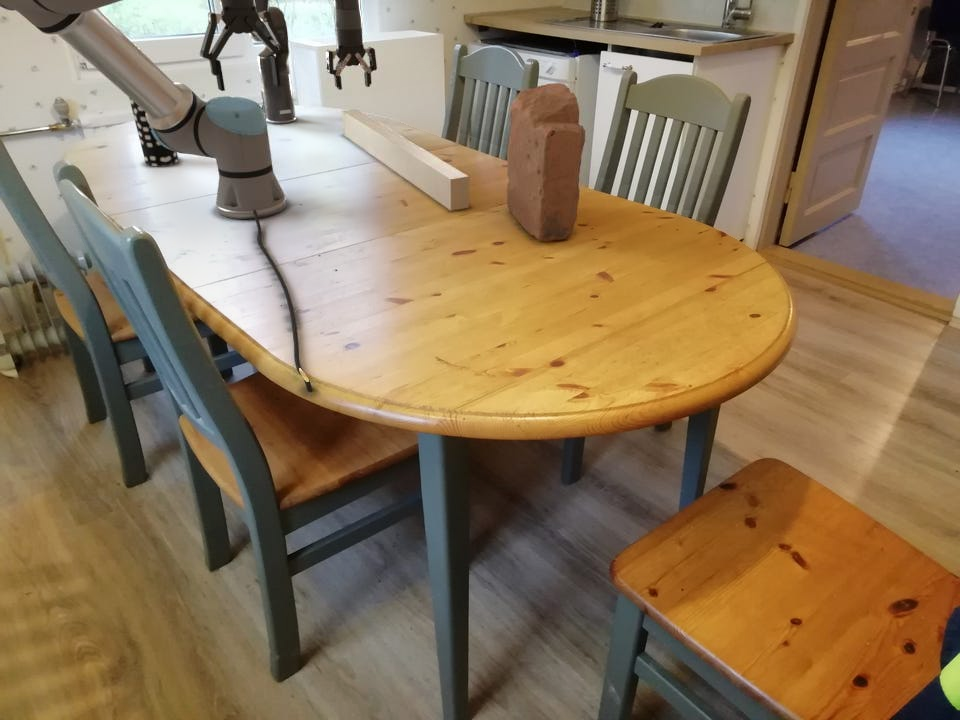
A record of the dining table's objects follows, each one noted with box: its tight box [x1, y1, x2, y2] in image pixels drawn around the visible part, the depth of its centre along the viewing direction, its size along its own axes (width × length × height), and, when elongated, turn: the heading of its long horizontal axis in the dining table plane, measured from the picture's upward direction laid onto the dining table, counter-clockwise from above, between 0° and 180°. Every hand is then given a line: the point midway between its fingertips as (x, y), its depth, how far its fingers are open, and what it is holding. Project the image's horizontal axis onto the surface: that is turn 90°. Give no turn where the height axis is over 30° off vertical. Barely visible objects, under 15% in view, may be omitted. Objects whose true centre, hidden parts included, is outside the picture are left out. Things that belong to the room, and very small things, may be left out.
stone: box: [506, 82, 586, 242], centre depth 144 cm, size 22×11×28 cm, turn 18°
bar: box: [341, 108, 470, 212], centre depth 184 cm, size 73×5×7 cm, turn 29°
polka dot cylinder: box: [128, 97, 179, 167], centre depth 181 cm, size 8×8×20 cm
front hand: (250, 87), depth 166 cm, fingers open, 13 cm apart
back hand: (353, 87), depth 200 cm, fingers open, 8 cm apart
